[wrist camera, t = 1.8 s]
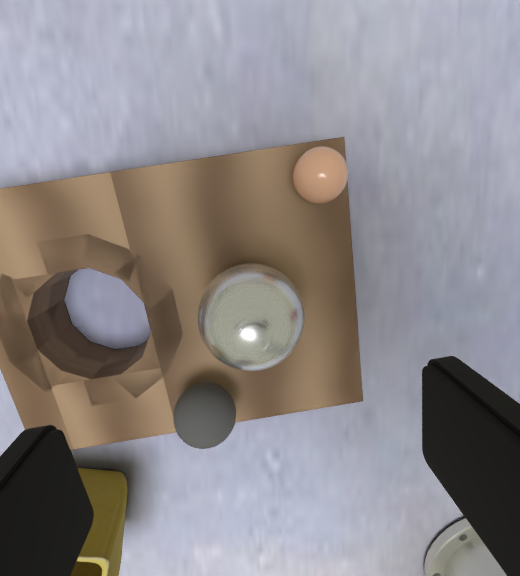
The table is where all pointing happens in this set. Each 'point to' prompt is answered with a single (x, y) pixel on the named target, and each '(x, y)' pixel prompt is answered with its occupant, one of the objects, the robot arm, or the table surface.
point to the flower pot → (103, 523)
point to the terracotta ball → (320, 175)
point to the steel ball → (251, 317)
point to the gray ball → (204, 415)
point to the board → (171, 291)
